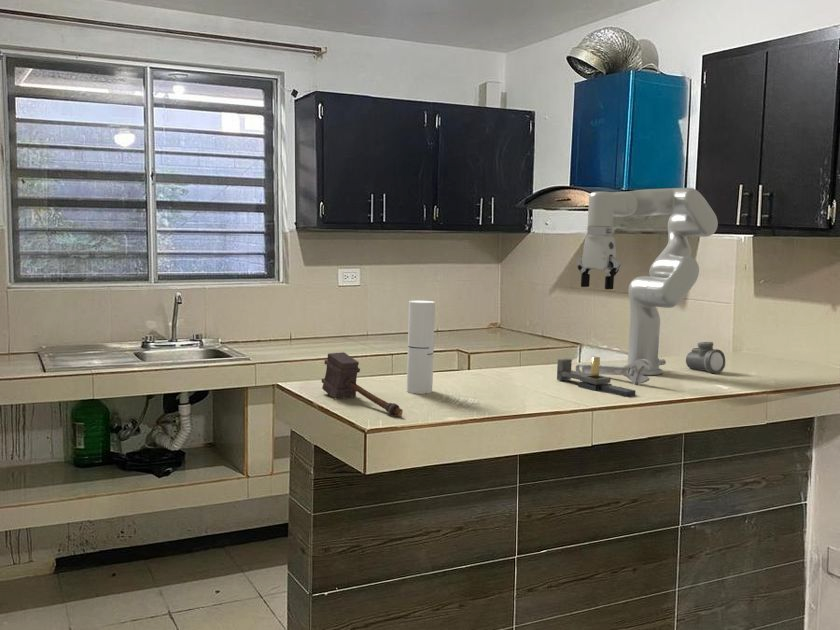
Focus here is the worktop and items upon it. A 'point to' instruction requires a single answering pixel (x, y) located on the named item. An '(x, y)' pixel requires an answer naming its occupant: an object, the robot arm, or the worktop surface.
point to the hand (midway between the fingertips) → (596, 288)
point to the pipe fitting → (706, 358)
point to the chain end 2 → (608, 388)
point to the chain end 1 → (576, 373)
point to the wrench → (622, 370)
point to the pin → (595, 368)
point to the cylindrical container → (420, 346)
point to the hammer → (349, 381)
